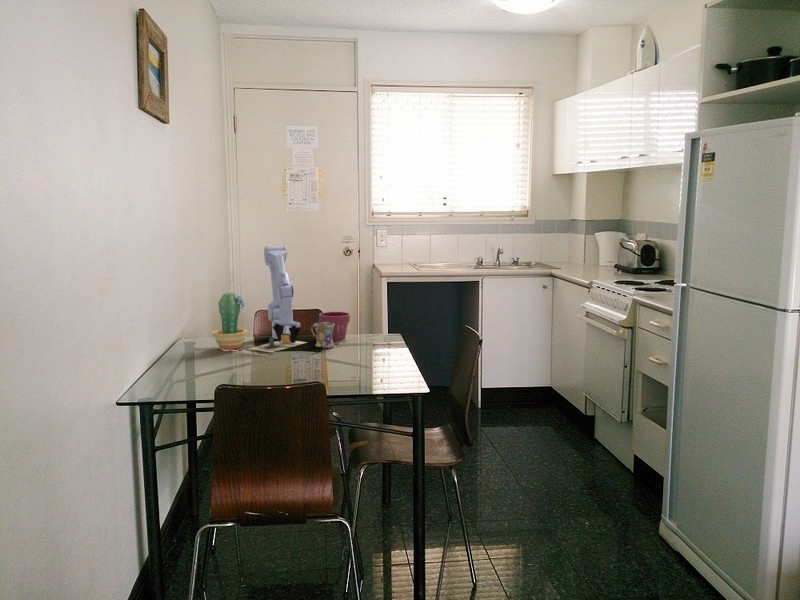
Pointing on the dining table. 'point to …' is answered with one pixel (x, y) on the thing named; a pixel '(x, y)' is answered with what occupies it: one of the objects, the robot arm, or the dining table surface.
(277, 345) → the post board
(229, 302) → the potted cactus
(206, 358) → the dining table surface
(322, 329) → the mug
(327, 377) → the dining table surface
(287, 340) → the brass collar
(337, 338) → the plant pot
